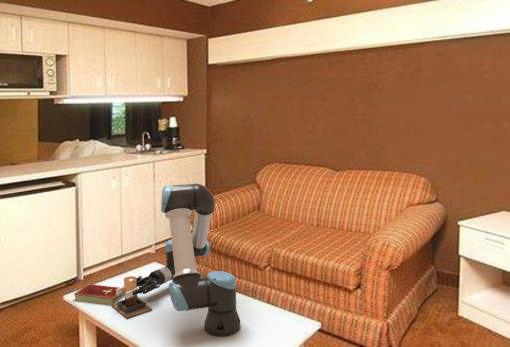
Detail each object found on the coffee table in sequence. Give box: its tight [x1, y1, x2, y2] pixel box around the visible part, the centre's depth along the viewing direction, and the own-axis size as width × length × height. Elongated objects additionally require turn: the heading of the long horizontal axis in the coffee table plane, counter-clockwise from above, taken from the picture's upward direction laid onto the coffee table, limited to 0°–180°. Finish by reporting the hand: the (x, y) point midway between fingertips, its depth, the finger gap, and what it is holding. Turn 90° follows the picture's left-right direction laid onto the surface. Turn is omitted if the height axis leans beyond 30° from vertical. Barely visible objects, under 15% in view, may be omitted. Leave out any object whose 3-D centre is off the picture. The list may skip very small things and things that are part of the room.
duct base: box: [111, 296, 153, 320], centre depth 195 cm, size 16×12×3 cm
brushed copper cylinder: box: [123, 275, 138, 306], centre depth 194 cm, size 6×6×12 cm
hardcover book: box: [73, 283, 125, 306], centre depth 206 cm, size 12×21×4 cm, turn 76°
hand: (121, 294), depth 189 cm, fingers open, 6 cm apart
